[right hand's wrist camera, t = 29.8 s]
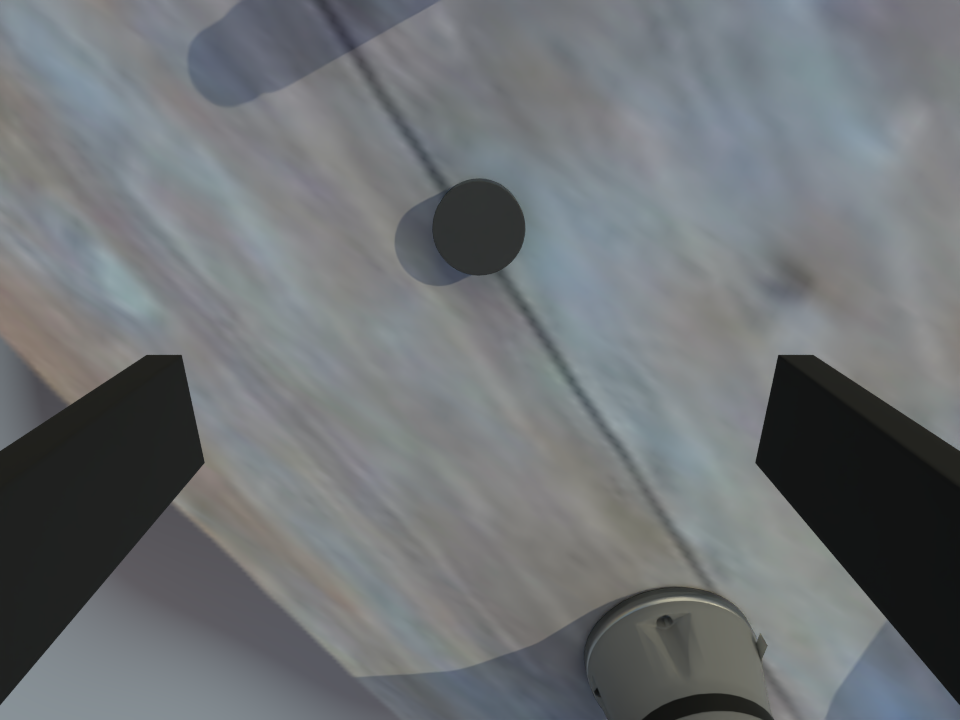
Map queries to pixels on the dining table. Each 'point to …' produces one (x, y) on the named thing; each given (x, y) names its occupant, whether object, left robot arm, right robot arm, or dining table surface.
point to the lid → (478, 227)
